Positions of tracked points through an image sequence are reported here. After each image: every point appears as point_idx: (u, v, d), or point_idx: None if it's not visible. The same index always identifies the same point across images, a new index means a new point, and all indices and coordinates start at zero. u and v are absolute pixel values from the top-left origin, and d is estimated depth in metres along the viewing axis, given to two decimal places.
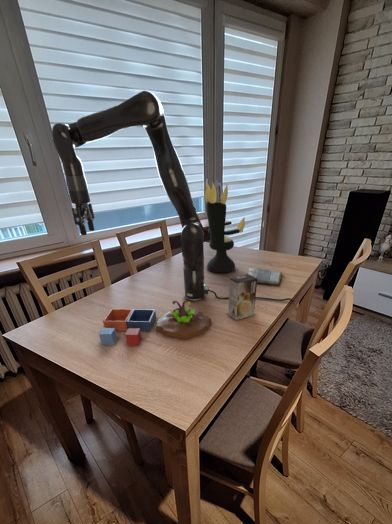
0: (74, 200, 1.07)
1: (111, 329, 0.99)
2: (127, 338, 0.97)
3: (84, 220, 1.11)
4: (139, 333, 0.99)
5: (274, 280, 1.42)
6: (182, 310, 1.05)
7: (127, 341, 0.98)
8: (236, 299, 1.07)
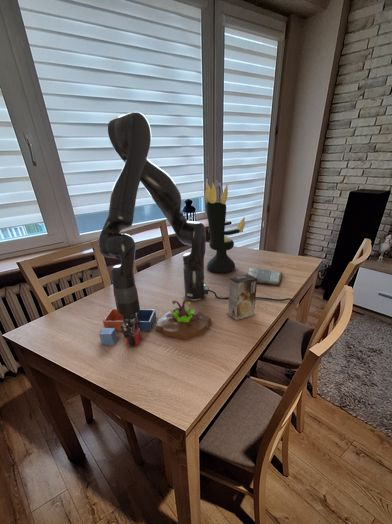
0: (122, 312, 0.90)
1: (111, 329, 0.99)
2: (127, 338, 0.97)
3: (133, 330, 0.95)
4: (139, 333, 0.99)
5: (274, 280, 1.42)
6: (182, 310, 1.05)
7: (127, 341, 0.98)
8: (236, 299, 1.07)
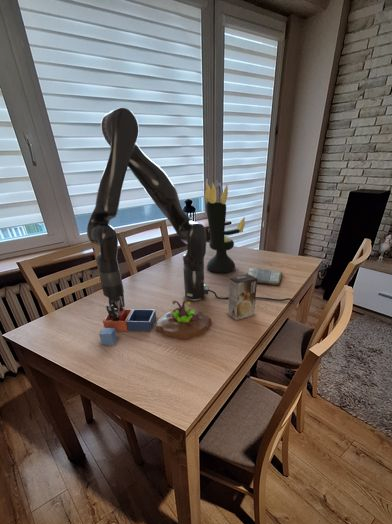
0: (107, 295, 1.01)
1: (111, 329, 0.99)
2: None
3: (118, 312, 1.06)
4: (124, 314, 1.10)
5: (274, 280, 1.42)
6: (182, 310, 1.05)
7: None
8: (236, 299, 1.07)
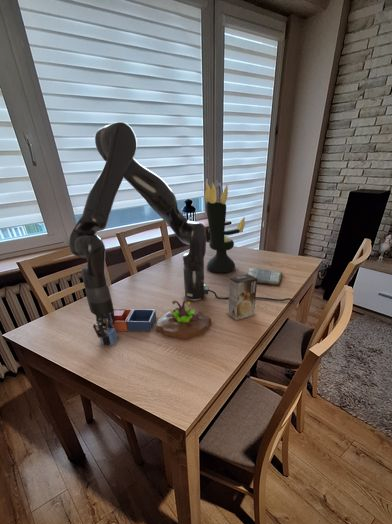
0: (94, 312, 0.90)
1: (111, 329, 0.99)
2: None
3: (107, 330, 0.96)
4: (124, 314, 1.10)
5: (274, 280, 1.42)
6: (182, 310, 1.05)
7: None
8: (236, 299, 1.07)
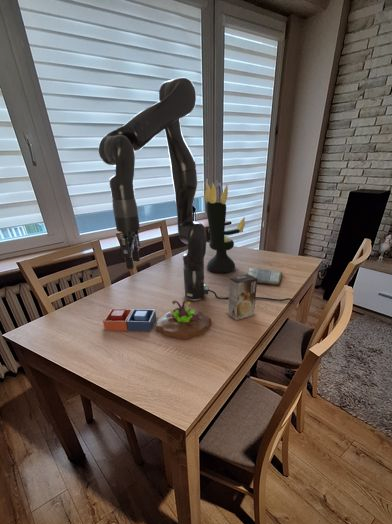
0: (121, 229, 0.87)
1: (143, 311, 1.09)
2: (113, 319, 1.08)
3: (132, 251, 0.91)
4: (124, 314, 1.10)
5: (274, 280, 1.42)
6: (182, 310, 1.05)
7: None
8: (236, 299, 1.07)
